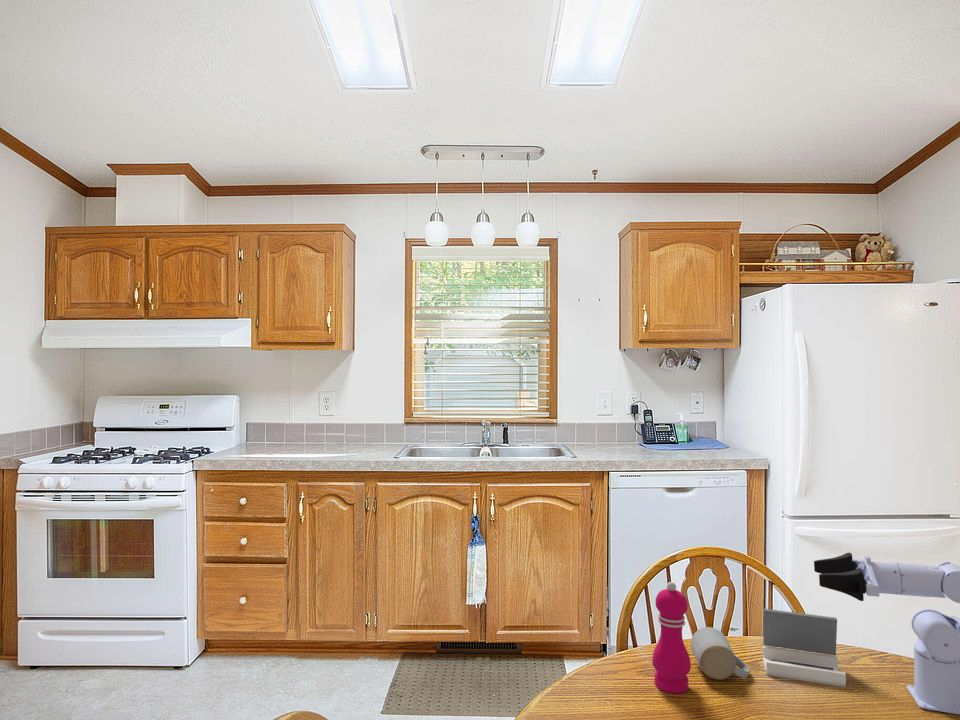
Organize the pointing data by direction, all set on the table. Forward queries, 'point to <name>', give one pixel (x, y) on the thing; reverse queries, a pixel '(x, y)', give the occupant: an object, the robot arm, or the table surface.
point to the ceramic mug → (716, 655)
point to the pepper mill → (671, 642)
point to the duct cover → (800, 631)
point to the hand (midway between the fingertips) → (816, 573)
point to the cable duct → (803, 666)
